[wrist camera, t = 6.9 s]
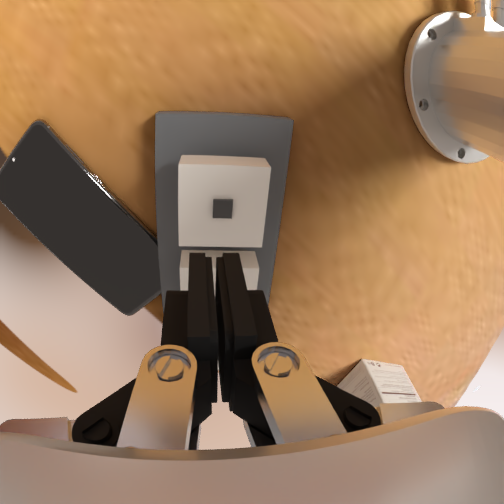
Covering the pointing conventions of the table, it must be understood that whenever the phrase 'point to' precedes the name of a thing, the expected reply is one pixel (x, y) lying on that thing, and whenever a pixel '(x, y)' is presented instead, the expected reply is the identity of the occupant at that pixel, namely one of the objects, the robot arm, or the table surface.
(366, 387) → the supplement box
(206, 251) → the tile two
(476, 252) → the table surface
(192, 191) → the tile one
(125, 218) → the smartphone
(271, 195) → the button board
